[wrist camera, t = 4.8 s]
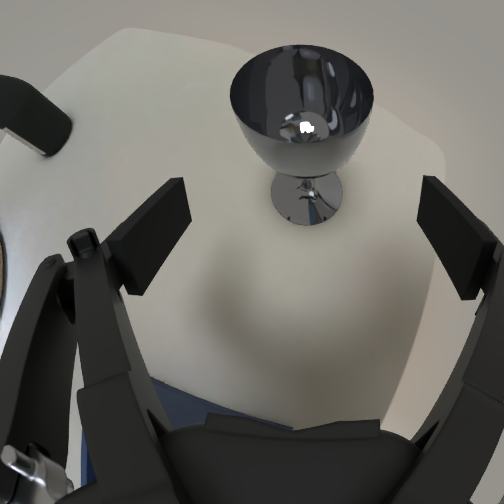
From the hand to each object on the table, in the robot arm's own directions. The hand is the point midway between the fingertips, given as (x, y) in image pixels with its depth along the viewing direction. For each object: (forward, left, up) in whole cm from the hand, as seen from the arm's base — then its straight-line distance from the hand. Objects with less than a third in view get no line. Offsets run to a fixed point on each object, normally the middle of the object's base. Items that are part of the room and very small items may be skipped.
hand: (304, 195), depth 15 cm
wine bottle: (+43, -10, -13) cm, 46 cm away
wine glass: (+1, -6, -13) cm, 14 cm away
